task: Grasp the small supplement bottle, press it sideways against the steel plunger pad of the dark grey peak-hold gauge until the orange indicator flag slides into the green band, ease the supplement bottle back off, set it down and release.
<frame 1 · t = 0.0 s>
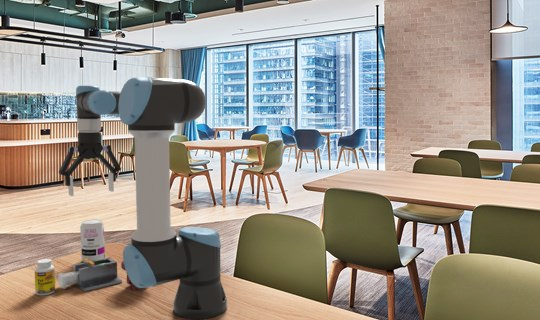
hand: (91, 193, 157), 28 cm above the table, fingers open, 13 cm apart
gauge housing: (96, 280, 151), on the table
mechanical component: (138, 286, 147), on the table
supplement bottle: (45, 293, 141), on the table
supplement can: (93, 261, 172), on the table
plunger: (78, 272, 147), point 4 cm above the table, slide at 0.0 cm
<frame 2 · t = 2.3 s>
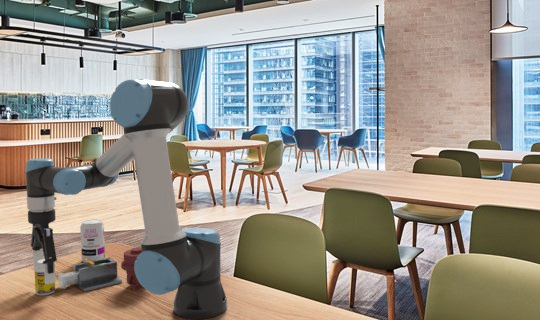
hand: (44, 276, 141), 5 cm above the table, fingers open, 13 cm apart
nothing on the table moved.
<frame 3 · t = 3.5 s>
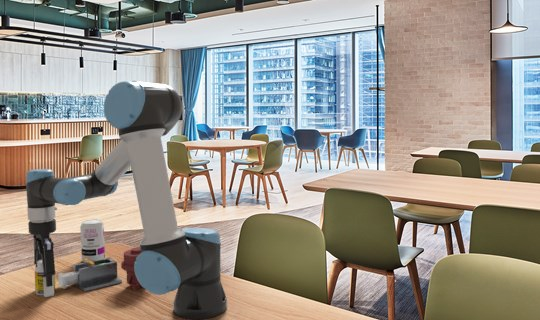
hand: (45, 291, 141), 0 cm above the table, fingers open, 7 cm apart
nothing on the table moved.
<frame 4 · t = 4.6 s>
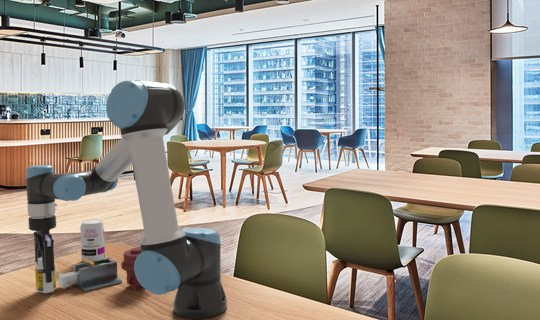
hand: (45, 288, 141), 1 cm above the table, fingers closed on supplement bottle, 5 cm apart
supplement bottle: (46, 290, 141), point 1 cm above the table, touching gripper
everything else where it was.
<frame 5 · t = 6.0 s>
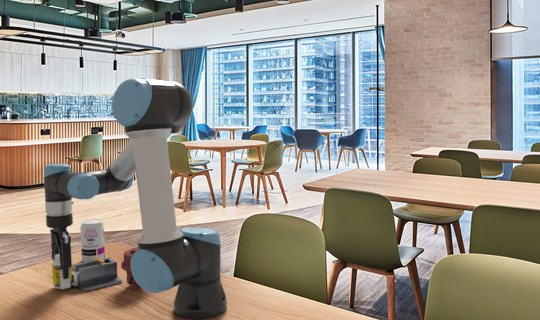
hand: (62, 285, 144), 1 cm above the table, fingers closed on supplement bottle, 5 cm apart
supplement bottle: (63, 286, 145), point 1 cm above the table, touching gripper, plunger
plunger: (89, 270, 150), point 4 cm above the table, slide at 3.3 cm, touching supplement bottle
everything else where it was.
when the fingers open (0 cm above the table, at t = 7.9 s): supplement bottle stays where it is, on the table.
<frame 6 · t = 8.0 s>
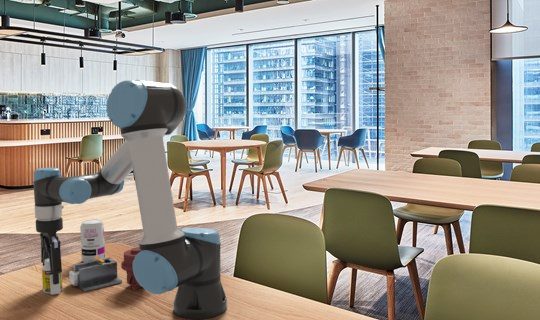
hand: (52, 289, 143), 0 cm above the table, fingers open, 7 cm apart
supplement bottle: (53, 291, 143), on the table
plunger: (89, 270, 150), point 4 cm above the table, slide at 3.3 cm
everything else where it was.
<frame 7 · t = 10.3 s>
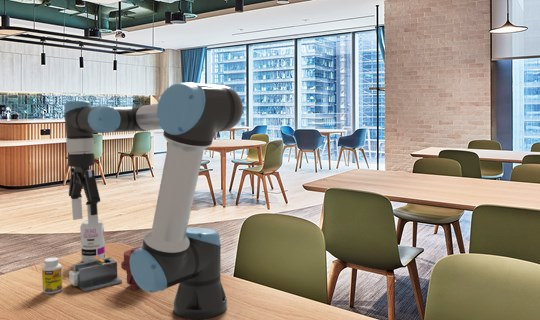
hand: (85, 222, 138), 22 cm above the table, fingers open, 13 cm apart
nothing on the table moved.
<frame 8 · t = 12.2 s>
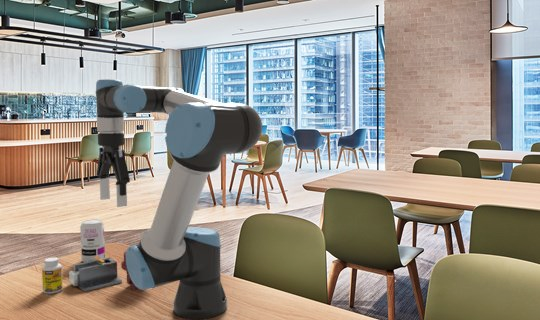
hand: (113, 202, 137), 29 cm above the table, fingers open, 13 cm apart
nothing on the table moved.
at the end: plunger slide at 3.3 cm; the gripper is holding nothing; supplement bottle tilted 0° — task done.
